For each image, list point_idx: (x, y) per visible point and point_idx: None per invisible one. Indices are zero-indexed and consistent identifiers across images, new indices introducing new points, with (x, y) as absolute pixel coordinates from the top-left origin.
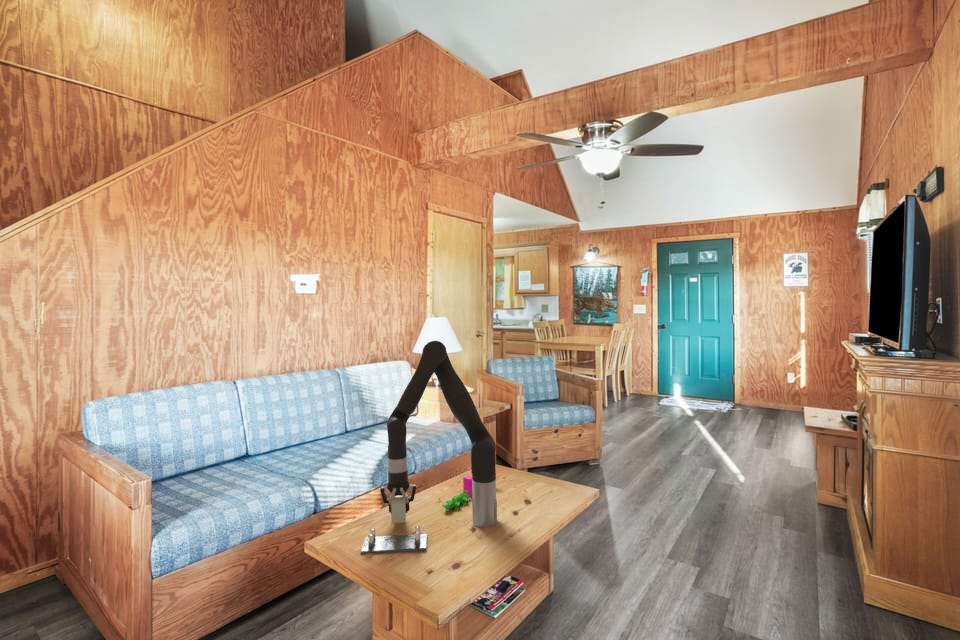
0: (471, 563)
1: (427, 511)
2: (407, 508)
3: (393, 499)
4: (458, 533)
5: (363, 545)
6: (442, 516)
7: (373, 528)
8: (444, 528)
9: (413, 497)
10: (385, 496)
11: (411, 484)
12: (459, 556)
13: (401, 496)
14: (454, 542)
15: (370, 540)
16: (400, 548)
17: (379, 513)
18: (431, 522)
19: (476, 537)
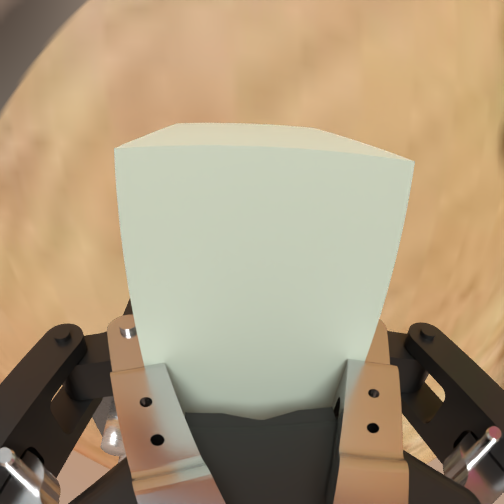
0: (420, 447)
1: (433, 65)
2: None
3: None
4: (476, 335)
5: (100, 426)
6: (489, 167)
7: (113, 446)
8: (457, 298)
9: (425, 406)
10: (71, 441)
11: (496, 499)
12: (412, 435)
13: (296, 397)
14: (437, 387)
15: None
16: None
17: (71, 33)
18: (431, 229)
19: (498, 354)
